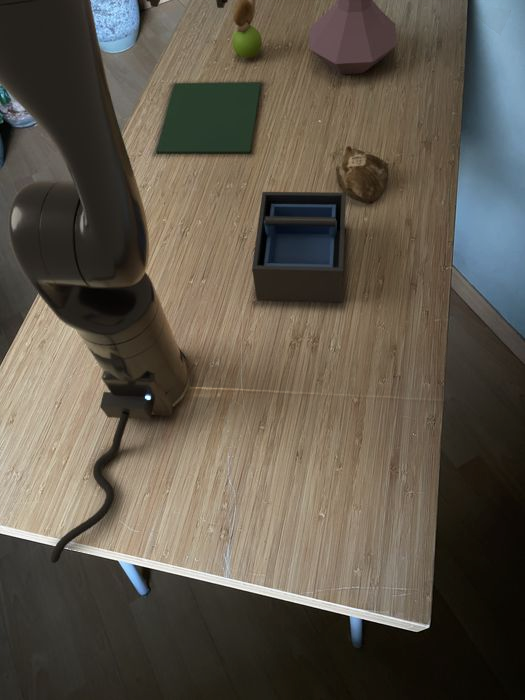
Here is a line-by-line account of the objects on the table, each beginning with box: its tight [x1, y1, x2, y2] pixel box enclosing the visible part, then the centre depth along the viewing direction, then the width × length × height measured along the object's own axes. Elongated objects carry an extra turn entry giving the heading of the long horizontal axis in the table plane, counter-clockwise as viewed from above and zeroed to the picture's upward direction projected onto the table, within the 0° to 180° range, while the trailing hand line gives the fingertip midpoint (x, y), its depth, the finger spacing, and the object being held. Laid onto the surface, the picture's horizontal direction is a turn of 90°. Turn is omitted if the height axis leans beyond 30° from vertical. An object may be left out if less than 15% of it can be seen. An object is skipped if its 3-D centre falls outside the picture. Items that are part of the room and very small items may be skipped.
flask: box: [308, 0, 398, 75], centre depth 99 cm, size 16×16×20 cm
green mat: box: [155, 81, 262, 155], centre depth 103 cm, size 18×16×1 cm
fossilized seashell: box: [335, 145, 390, 203], centre depth 90 cm, size 8×7×10 cm
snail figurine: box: [231, 0, 263, 59], centre depth 106 cm, size 5×6×12 cm
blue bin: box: [264, 204, 337, 267], centre depth 80 cm, size 11×10×9 cm
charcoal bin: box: [251, 191, 347, 304], centre depth 82 cm, size 14×12×8 cm
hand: (189, 4), depth 74 cm, fingers open, 8 cm apart
